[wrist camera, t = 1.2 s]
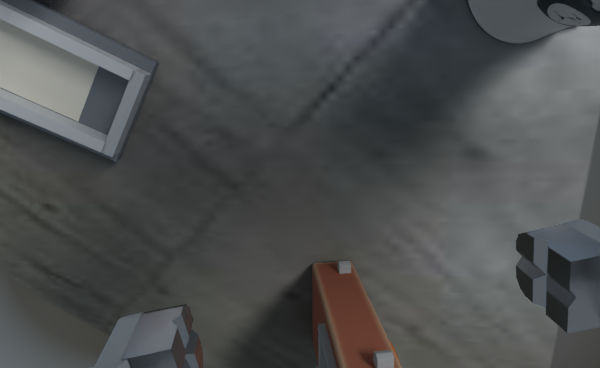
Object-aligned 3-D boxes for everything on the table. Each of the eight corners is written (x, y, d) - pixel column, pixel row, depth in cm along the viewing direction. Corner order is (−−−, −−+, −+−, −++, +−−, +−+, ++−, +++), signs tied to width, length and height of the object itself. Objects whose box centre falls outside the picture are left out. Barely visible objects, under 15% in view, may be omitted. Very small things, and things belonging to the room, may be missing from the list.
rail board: (-40, -37, 39) (-71, -47, 35) (159, 62, 43) (150, 62, 39) (-70, 77, 41) (-103, 79, 38) (120, 158, 46) (108, 168, 42)
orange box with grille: (357, 251, 53) (354, 344, 58) (305, 254, 52) (306, 348, 57) (420, 371, 33) (408, 500, 37) (336, 379, 32) (334, 510, 37)
